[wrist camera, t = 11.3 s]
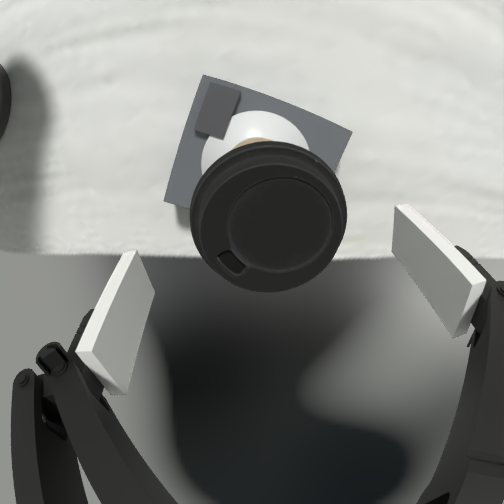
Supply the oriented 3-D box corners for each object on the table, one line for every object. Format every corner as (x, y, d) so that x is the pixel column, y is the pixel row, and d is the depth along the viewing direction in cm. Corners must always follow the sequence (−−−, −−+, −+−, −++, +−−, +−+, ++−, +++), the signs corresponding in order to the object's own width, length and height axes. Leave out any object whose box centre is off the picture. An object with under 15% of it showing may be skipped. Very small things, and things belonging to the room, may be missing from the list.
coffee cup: (196, 189, 30) (165, 274, 17) (231, 103, 26) (223, 117, 13) (279, 220, 32) (305, 318, 19) (319, 142, 28) (385, 194, 15)
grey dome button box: (172, 186, 35) (161, 204, 30) (208, 76, 29) (201, 74, 24) (292, 224, 39) (301, 247, 34) (338, 125, 32) (356, 133, 27)
